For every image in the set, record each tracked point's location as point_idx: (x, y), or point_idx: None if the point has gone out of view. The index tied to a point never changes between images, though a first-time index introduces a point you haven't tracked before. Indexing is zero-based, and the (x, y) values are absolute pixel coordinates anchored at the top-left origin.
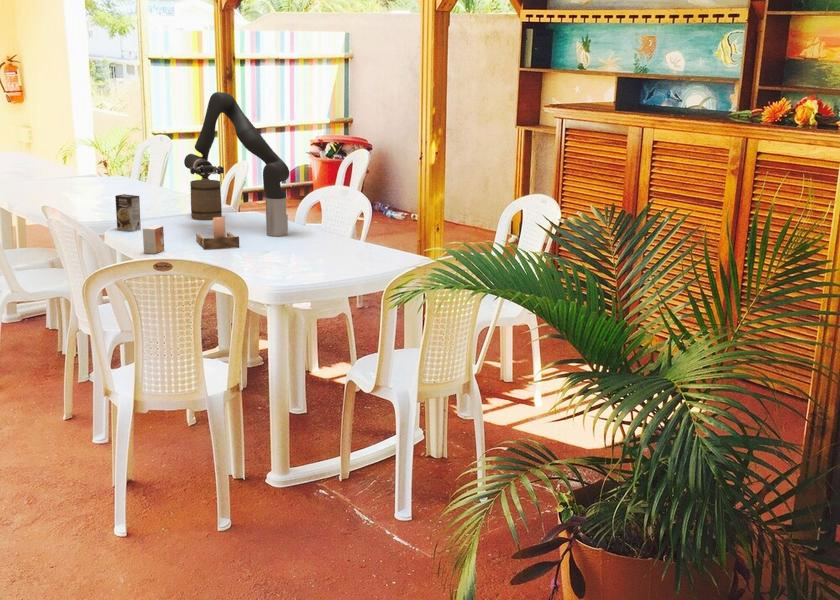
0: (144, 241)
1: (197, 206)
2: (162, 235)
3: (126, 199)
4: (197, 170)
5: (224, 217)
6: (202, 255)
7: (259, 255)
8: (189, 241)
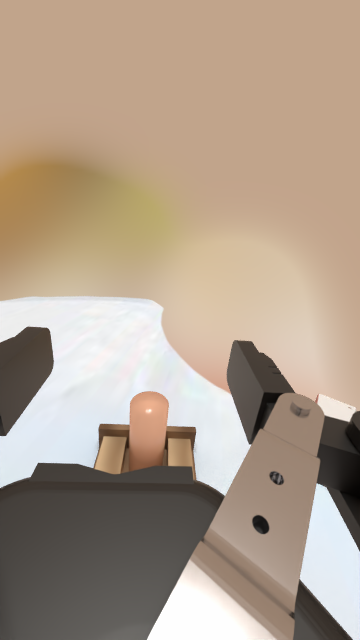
0: None
1: None
2: None
3: None
4: (274, 373)
5: (131, 402)
6: (201, 403)
7: (100, 377)
8: None
